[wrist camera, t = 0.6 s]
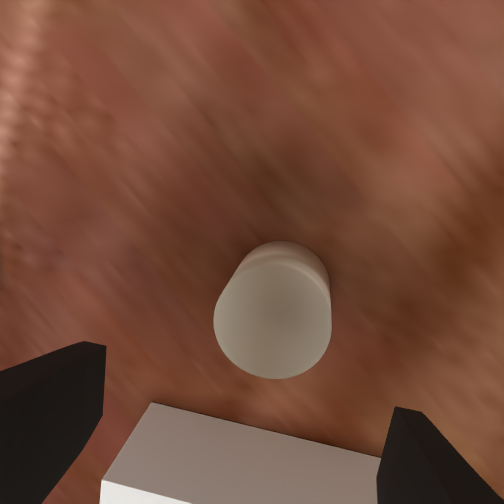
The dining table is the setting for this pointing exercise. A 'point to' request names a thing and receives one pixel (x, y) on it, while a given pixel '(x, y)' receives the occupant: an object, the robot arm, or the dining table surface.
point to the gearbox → (231, 465)
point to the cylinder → (275, 311)
